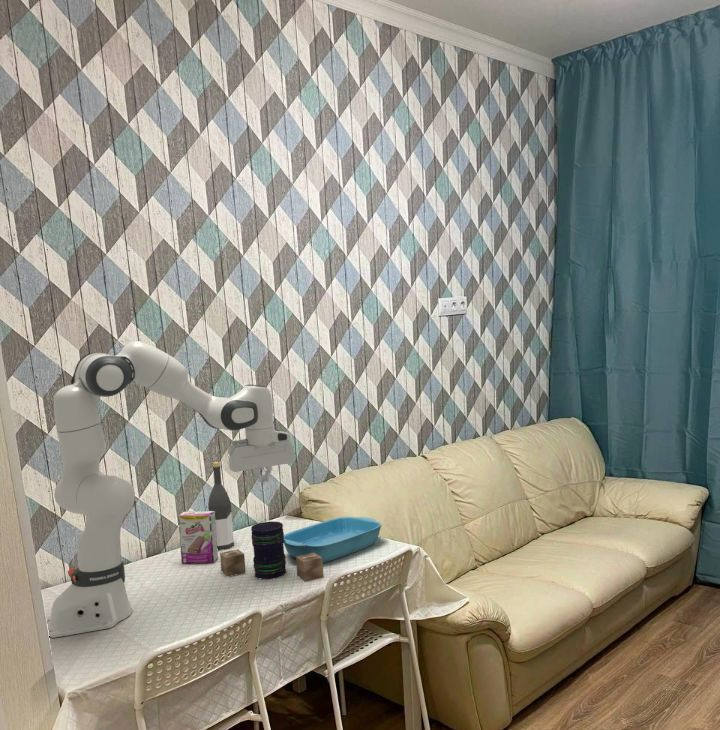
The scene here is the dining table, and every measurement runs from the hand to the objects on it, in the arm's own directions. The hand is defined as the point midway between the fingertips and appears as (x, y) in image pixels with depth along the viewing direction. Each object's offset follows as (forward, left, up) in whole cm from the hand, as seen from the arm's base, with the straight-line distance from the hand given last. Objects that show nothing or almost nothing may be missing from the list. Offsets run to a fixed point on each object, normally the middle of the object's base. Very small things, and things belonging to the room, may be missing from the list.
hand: (263, 481), depth 215 cm
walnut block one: (+9, -10, -29) cm, 32 cm away
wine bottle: (-4, +37, -29) cm, 47 cm away
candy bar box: (-15, +26, -29) cm, 42 cm away
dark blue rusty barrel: (0, 0, -29) cm, 29 cm away
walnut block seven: (-9, +9, -29) cm, 32 cm away
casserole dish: (+26, +9, -29) cm, 40 cm away
